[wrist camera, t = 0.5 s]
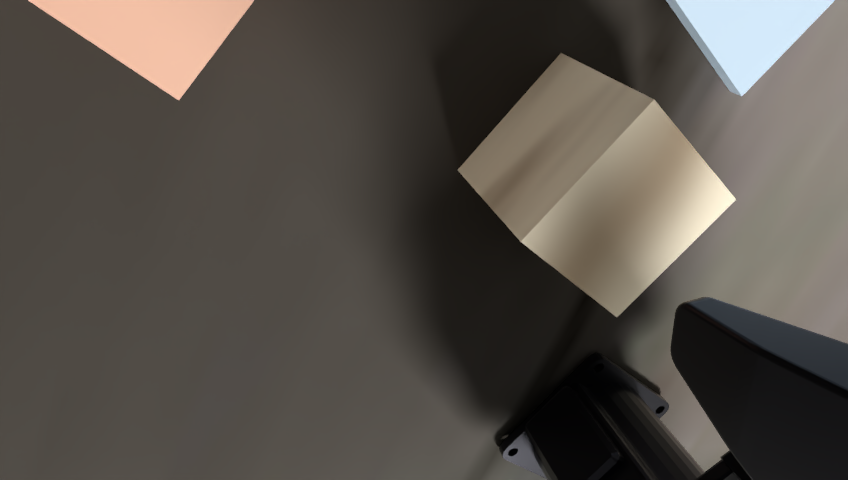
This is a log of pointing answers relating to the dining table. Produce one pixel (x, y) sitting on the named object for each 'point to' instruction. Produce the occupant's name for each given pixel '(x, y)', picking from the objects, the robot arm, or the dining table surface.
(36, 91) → the dining table surface
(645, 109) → the birch block
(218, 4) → the peach block
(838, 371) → the robot arm
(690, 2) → the blueprint board
